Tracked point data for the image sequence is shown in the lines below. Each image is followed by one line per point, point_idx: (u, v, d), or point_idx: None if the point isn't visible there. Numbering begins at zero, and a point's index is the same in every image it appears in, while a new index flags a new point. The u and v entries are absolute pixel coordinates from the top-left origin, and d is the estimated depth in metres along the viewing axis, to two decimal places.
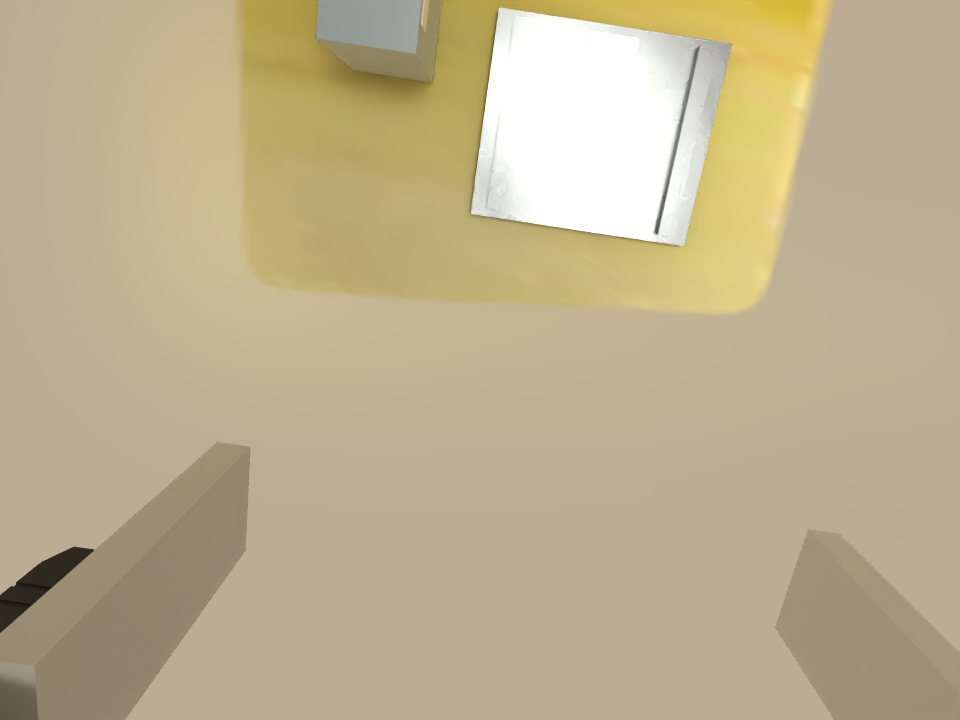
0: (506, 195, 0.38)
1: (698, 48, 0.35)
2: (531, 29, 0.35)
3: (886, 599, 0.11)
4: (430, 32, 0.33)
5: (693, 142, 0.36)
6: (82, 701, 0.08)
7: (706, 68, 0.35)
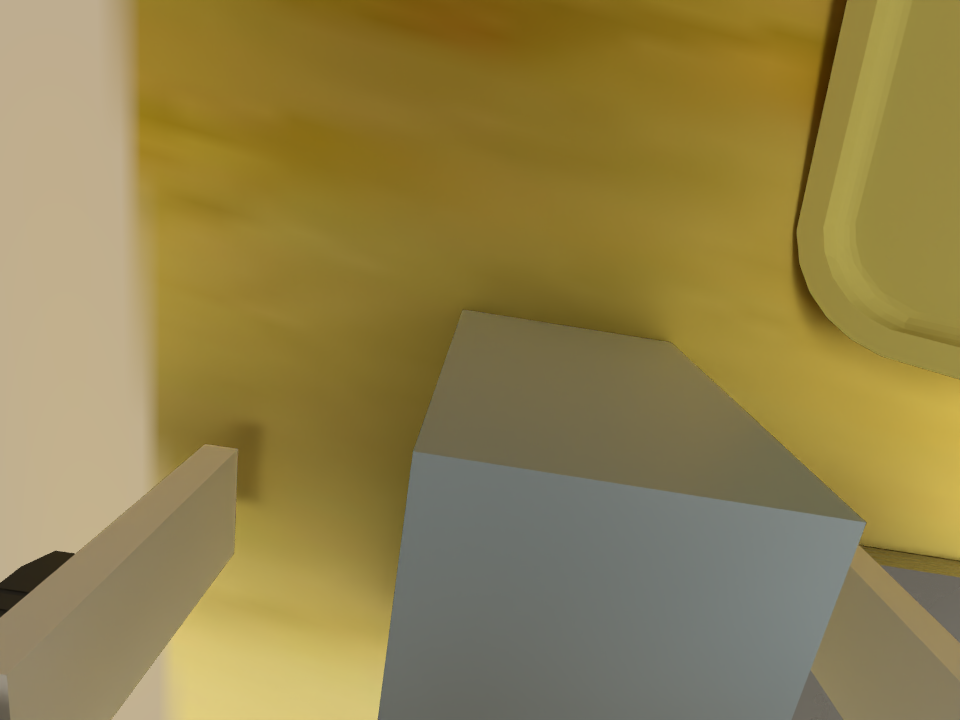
0: None
1: None
2: None
3: (903, 607, 0.11)
4: None
5: None
6: (59, 709, 0.08)
7: None
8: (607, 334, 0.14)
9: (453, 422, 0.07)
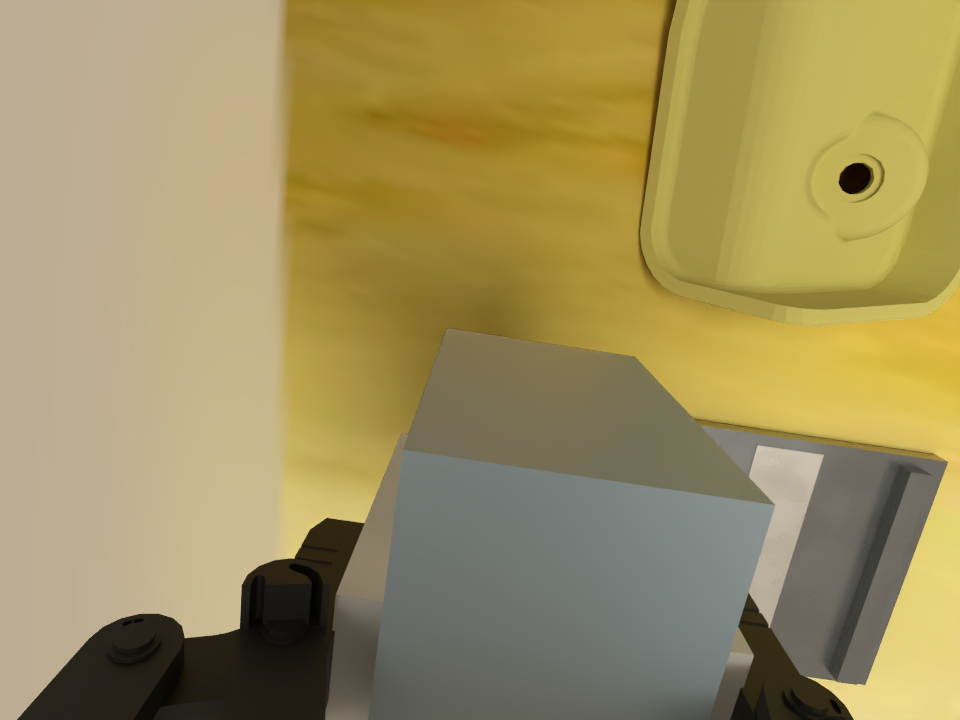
0: None
1: (905, 472, 0.26)
2: None
3: None
4: None
5: (892, 581, 0.27)
6: None
7: (916, 499, 0.26)
8: (577, 350, 0.15)
9: (437, 427, 0.09)
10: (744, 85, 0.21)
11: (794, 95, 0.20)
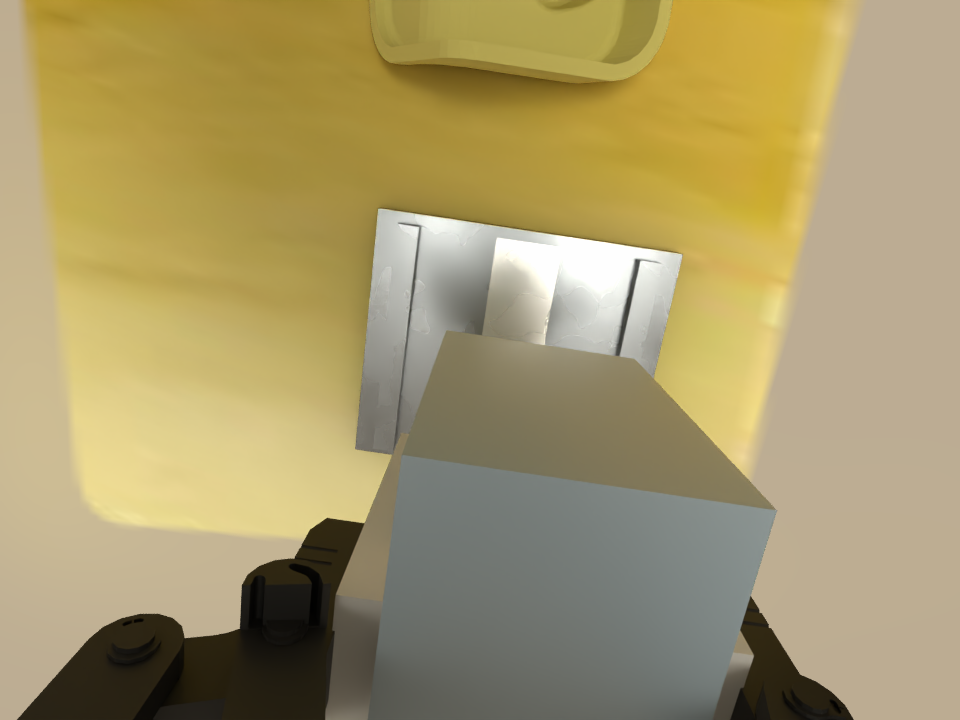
0: (399, 428, 0.30)
1: (638, 262, 0.27)
2: (421, 235, 0.27)
3: None
4: None
5: None
6: None
7: (648, 288, 0.27)
8: (577, 352, 0.15)
9: (436, 431, 0.09)
10: None
11: None
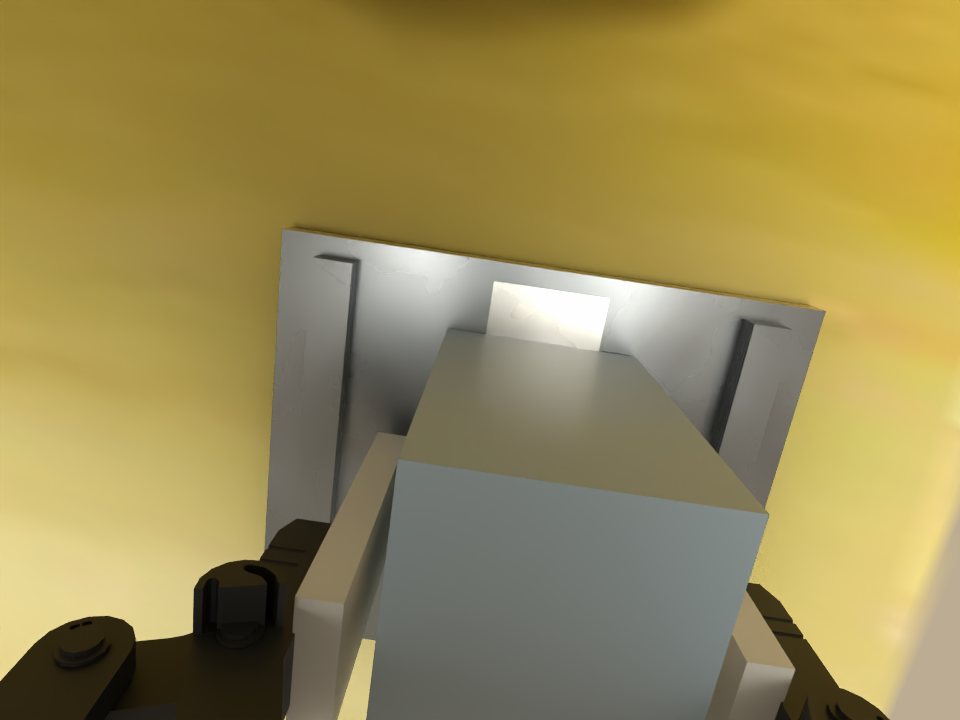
0: None
1: (748, 327, 0.15)
2: (361, 276, 0.15)
3: None
4: None
5: None
6: (348, 639, 0.10)
7: (767, 373, 0.15)
8: (578, 351, 0.15)
9: (432, 435, 0.09)
10: None
11: None
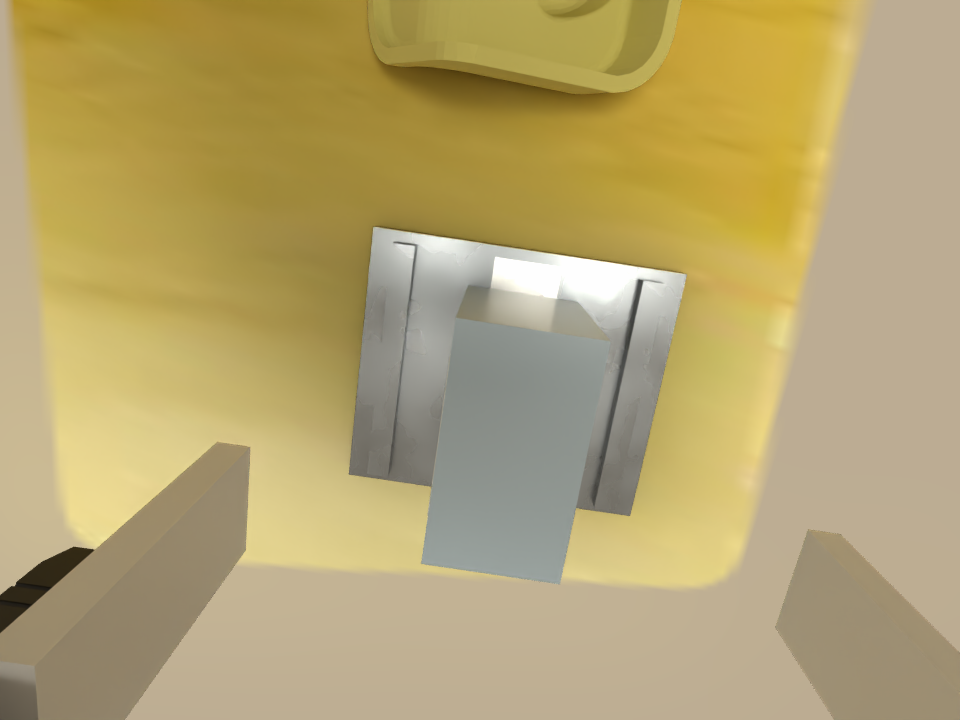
0: (395, 453, 0.29)
1: (641, 283, 0.26)
2: (418, 254, 0.26)
3: (886, 599, 0.11)
4: None
5: (637, 399, 0.27)
6: (82, 701, 0.08)
7: (652, 309, 0.26)
8: (544, 297, 0.26)
9: (468, 314, 0.20)
10: None
11: None
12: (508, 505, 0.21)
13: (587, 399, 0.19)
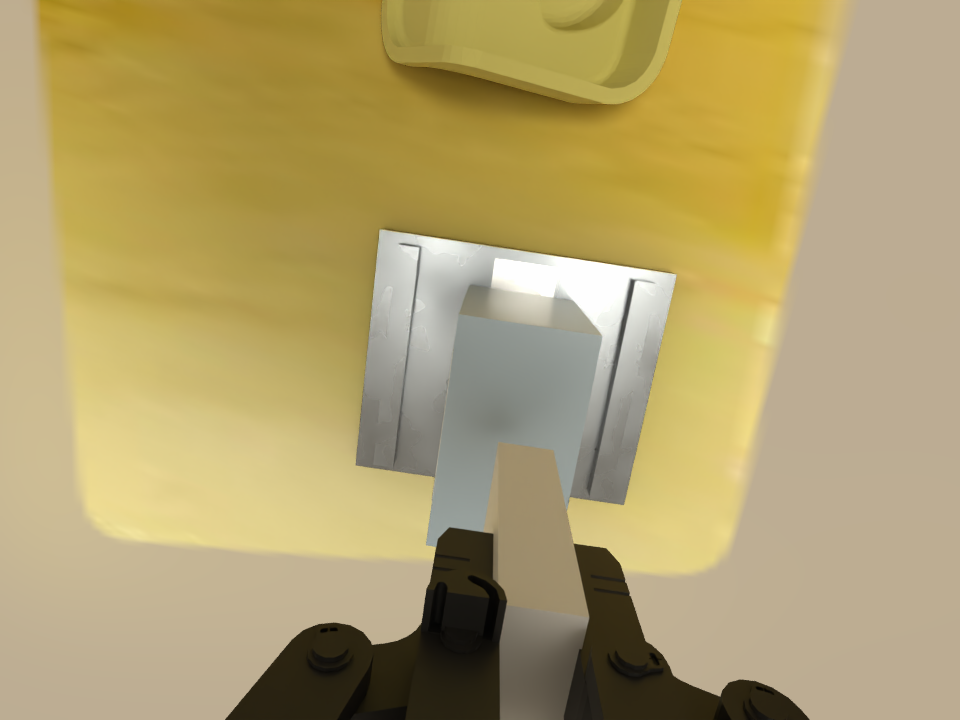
0: (399, 444, 0.30)
1: (633, 282, 0.27)
2: (422, 255, 0.28)
3: (543, 490, 0.14)
4: None
5: (630, 393, 0.28)
6: None
7: (643, 308, 0.27)
8: (541, 296, 0.28)
9: (470, 311, 0.21)
10: None
11: None
12: None
13: (581, 390, 0.21)
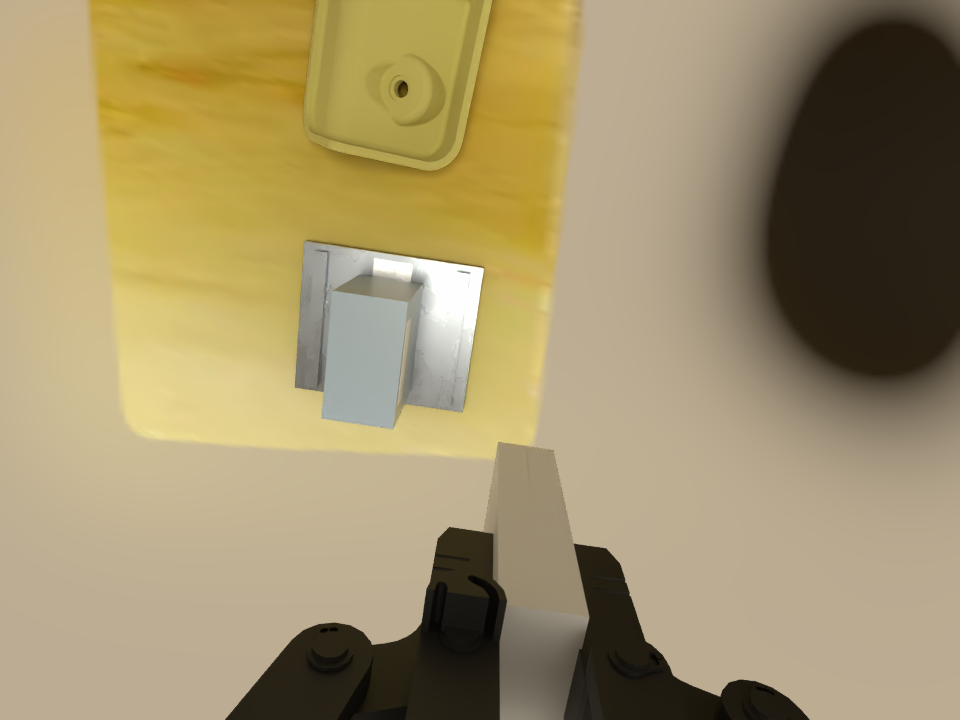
0: (321, 374, 0.49)
1: (456, 273, 0.46)
2: (330, 257, 0.46)
3: (543, 490, 0.14)
4: (406, 381, 0.45)
5: (458, 340, 0.47)
6: None
7: (462, 288, 0.46)
8: (402, 281, 0.46)
9: (341, 289, 0.40)
10: (337, 25, 0.40)
11: (353, 33, 0.39)
12: (364, 386, 0.40)
13: (399, 331, 0.39)
